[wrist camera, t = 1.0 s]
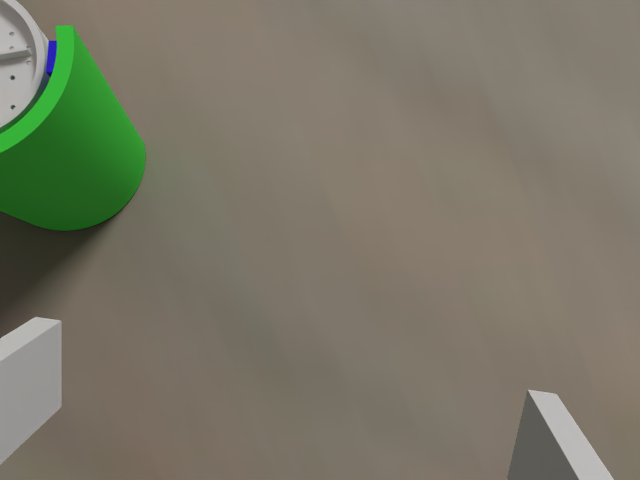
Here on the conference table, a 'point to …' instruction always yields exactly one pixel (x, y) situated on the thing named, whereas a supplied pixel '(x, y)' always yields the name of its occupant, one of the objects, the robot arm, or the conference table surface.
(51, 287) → the conference table surface
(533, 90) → the conference table surface
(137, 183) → the green cylindrical container
